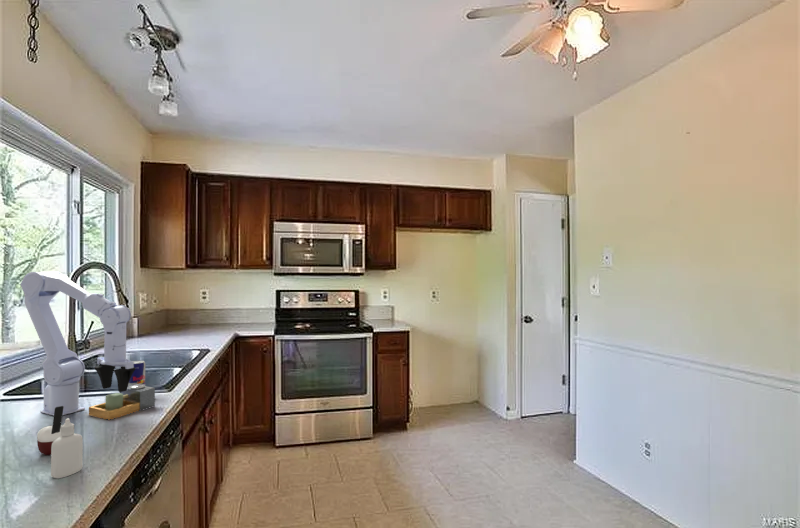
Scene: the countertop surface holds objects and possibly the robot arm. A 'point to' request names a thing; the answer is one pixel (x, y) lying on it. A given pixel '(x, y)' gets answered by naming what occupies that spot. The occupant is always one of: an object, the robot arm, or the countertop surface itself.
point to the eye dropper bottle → (66, 452)
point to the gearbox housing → (127, 402)
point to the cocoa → (50, 433)
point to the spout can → (114, 401)
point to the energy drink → (138, 373)
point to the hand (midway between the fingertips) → (114, 389)
